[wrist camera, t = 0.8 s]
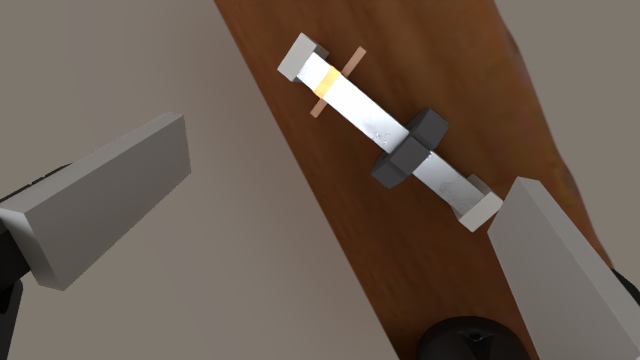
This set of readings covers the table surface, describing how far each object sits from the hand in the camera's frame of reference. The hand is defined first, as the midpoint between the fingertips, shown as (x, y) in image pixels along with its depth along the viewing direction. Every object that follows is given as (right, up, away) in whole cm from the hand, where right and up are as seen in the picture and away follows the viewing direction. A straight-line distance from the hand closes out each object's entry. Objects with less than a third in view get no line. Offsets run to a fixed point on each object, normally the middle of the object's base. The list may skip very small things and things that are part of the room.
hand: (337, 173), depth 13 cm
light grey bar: (+7, +5, +23) cm, 24 cm away
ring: (+10, +5, +26) cm, 29 cm away
